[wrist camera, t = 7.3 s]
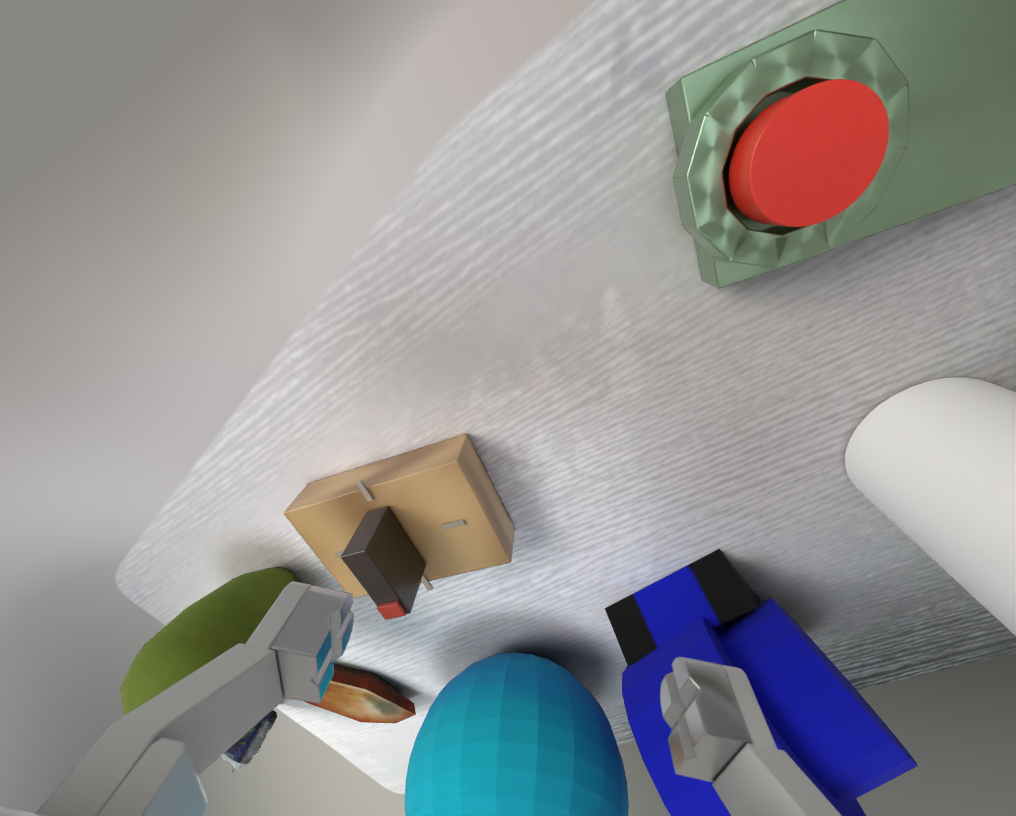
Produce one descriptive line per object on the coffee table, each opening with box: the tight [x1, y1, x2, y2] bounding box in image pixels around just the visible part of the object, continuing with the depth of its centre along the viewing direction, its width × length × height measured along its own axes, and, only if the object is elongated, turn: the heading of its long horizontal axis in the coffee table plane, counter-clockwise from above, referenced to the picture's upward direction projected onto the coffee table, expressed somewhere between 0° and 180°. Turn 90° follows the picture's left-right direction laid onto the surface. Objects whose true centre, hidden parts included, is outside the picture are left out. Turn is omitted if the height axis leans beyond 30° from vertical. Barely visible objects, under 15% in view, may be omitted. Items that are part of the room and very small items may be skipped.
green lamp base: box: [666, 0, 1016, 288], centre depth 15 cm, size 12×8×4 cm
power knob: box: [341, 506, 426, 620], centre depth 23 cm, size 5×2×4 cm, turn 22°
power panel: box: [284, 434, 515, 598], centre depth 26 cm, size 12×9×3 cm
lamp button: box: [729, 79, 889, 227], centre depth 14 cm, size 4×4×2 cm
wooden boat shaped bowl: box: [305, 665, 416, 723], centre depth 37 cm, size 14×6×2 cm, turn 63°
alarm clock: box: [605, 549, 917, 816], centre depth 24 cm, size 12×12×15 cm
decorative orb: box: [405, 652, 629, 816], centre depth 28 cm, size 15×15×15 cm
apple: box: [120, 568, 297, 743], centre depth 27 cm, size 9×8×12 cm
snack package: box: [220, 710, 277, 773], centre depth 37 cm, size 12×6×12 cm
